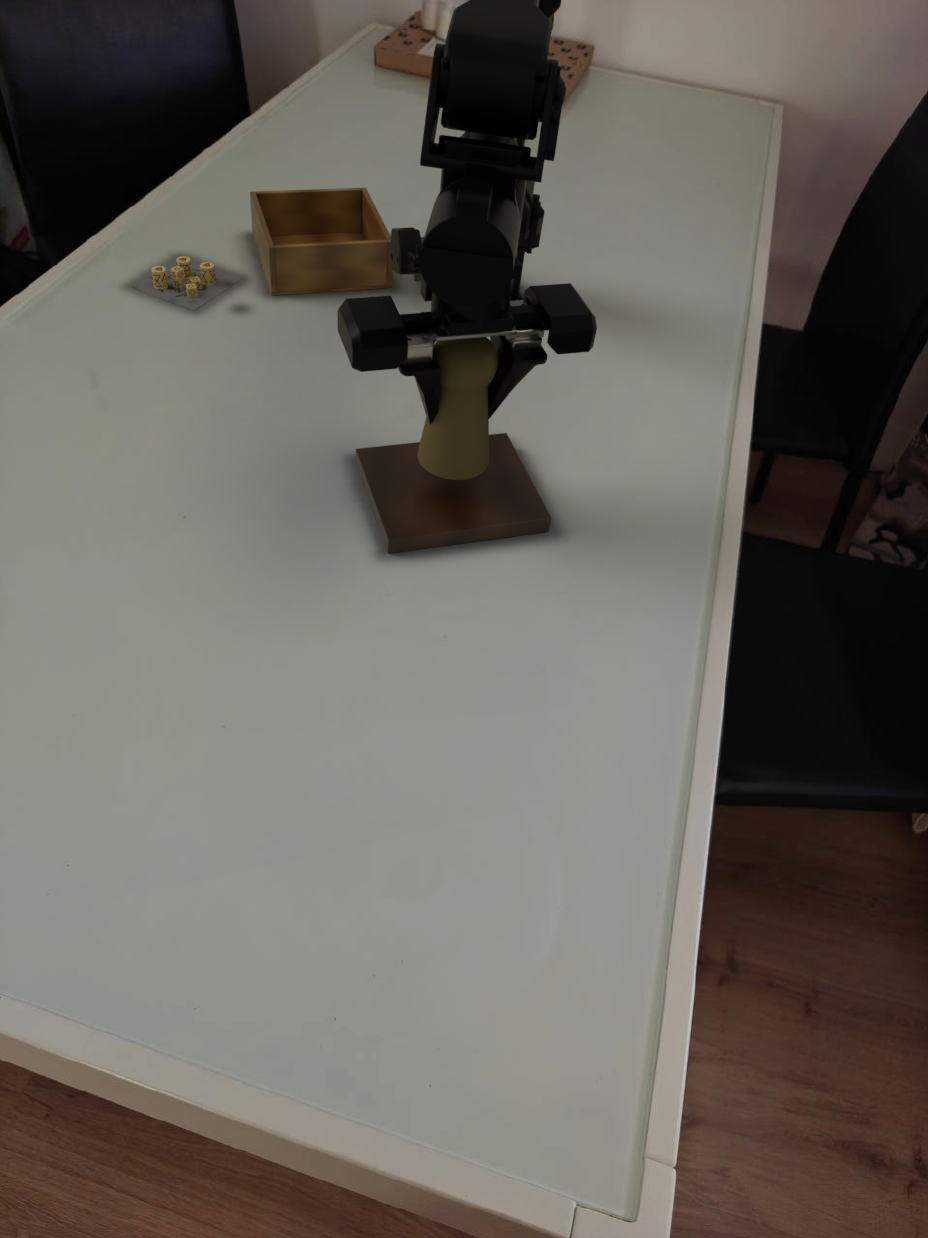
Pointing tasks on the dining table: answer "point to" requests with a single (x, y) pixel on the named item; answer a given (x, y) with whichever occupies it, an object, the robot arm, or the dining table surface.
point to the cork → (460, 410)
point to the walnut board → (449, 498)
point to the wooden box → (320, 240)
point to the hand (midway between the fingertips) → (458, 419)
